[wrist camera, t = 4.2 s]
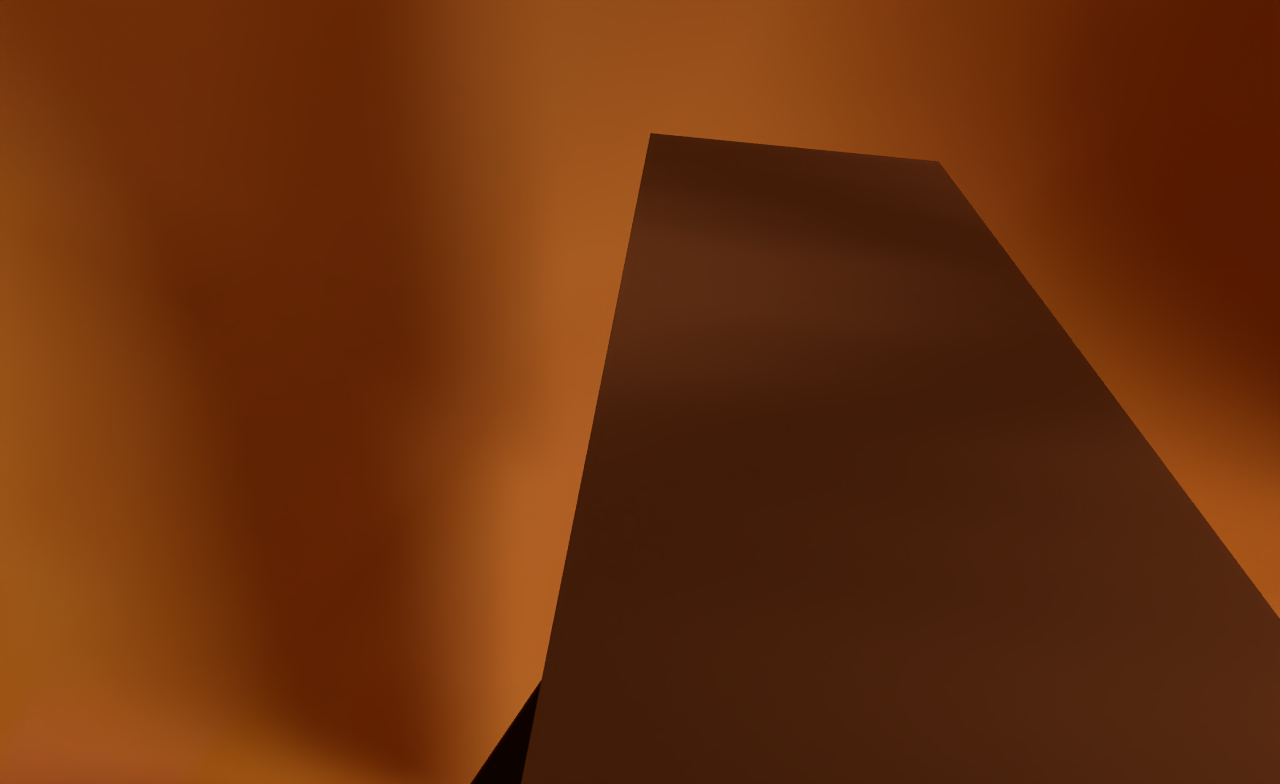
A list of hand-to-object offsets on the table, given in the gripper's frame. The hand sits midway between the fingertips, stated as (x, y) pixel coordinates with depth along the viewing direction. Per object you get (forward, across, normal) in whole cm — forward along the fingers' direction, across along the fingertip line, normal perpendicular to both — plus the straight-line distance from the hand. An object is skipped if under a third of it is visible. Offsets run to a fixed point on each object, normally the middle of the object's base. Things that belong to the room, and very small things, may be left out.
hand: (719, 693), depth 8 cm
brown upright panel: (+2, 0, +6) cm, 6 cm away
